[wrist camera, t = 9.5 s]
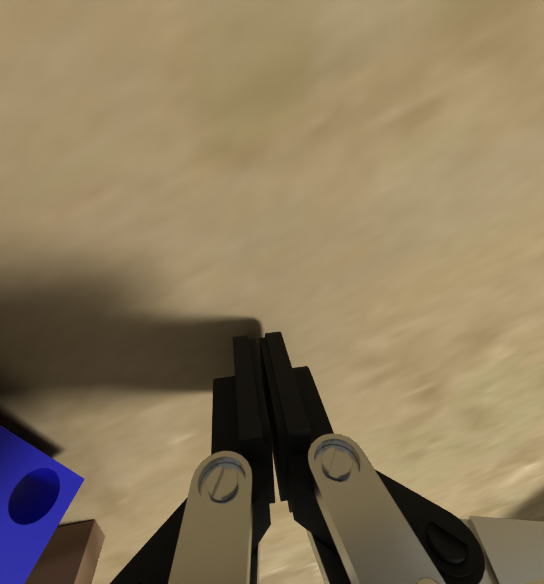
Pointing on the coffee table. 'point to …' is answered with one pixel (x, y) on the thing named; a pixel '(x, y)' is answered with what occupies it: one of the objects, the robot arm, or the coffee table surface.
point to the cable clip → (29, 504)
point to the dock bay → (69, 555)
